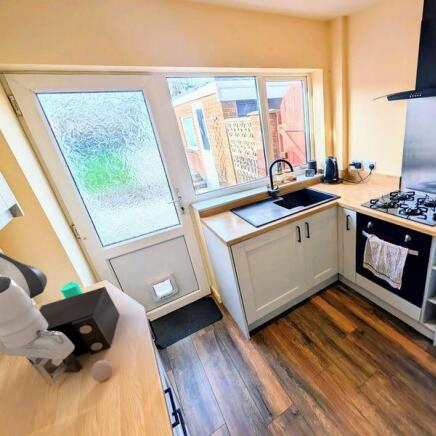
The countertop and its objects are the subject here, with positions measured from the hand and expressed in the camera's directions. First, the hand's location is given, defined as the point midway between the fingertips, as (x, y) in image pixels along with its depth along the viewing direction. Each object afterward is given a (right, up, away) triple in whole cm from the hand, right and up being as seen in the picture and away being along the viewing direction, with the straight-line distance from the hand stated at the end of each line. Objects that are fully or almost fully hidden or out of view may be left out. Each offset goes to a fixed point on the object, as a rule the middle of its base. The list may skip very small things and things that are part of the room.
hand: (49, 362), depth 73 cm
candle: (-24, +4, +39) cm, 46 cm away
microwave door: (-4, -9, +6) cm, 11 cm away
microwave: (-5, -3, +19) cm, 20 cm away
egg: (+13, -8, +5) cm, 16 cm away
